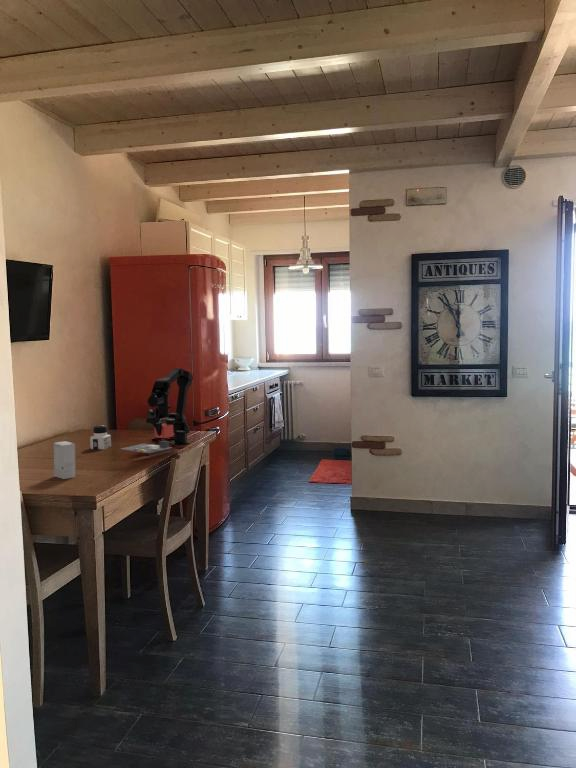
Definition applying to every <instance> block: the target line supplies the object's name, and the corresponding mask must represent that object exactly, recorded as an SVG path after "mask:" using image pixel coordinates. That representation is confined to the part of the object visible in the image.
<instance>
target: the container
mask: <svg viewBox="0 0 576 768" xmlns="http://www.w3.org/2000/svg"><path fill="white" fill-rule="evenodd" d="M107 431H108V429H107V426H106V425H103V424H100V425H99V424H98V425H95V426H93V435H92V436H90V437H89V442H90V443H89V444H90V449H91V450H106V449H108V448H110V447H112V438H111V436H112V435H111V434H108V432H107Z"/></svg>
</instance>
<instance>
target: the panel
mask: <svg viewBox="0 0 576 768" xmlns="http://www.w3.org/2000/svg"><path fill="white" fill-rule="evenodd" d="M120 450H123V451H125V450H126V451H131V452H138V453H143V454H145V455H144V456H145V457H151V456H155V455H161V454H164V453H169V452H173V451H174V448H173V447H172V446H169V447H167V448H162V447H160V444H149V443H139V444H135V445H130V446H127V447H126V446H125V447H121V448H120Z"/></svg>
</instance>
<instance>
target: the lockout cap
mask: <svg viewBox="0 0 576 768" xmlns="http://www.w3.org/2000/svg"><path fill="white" fill-rule="evenodd" d="M153 429H154V438H161V439H167V438H172V437H174V436H175V434H174V433H173V425H171V424H167V423H162V428H161V435H160V436H158V433H157V431H156V429H155V427H153Z"/></svg>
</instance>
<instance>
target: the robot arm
mask: <svg viewBox="0 0 576 768" xmlns="http://www.w3.org/2000/svg"><path fill="white" fill-rule="evenodd" d="M193 379H194V375H193V374H192V373H191V372H189V371H188V370H185V369H183V368H181V367H174V368H173V369H172V370H171V371H170V372H168V374H167V375H166V376H165V377H164V376H163V377H162V378H159V379H157V380H155V381H154V383H153V386H152V389H151V393H150V396H149V397H148V398H147V404H148V406H149V407H150V408H155V409H147V411H146V415H147V417H146V418H145V420H146V421H145V422H146V423H147V424H151V425H153V426H154V427H155V429H156V431H157V433H158V436H160V435H161V428H162V424H163V422H161V421H165V424H171V425H173V434H174V436H173V437H174V439H173V440H174V441H173V443H172V445H179V446H184V445H187V444H190V441H188V434H189V433H190V431H191V430H190V429H191V428H190V426H189V425H188V419H187V418H186V415H185V414H186V407H187V399H188V391H189V388H190V387H191V386H192V384H193ZM175 381H176V384H177V386H178V393H177V399H176V400H177V401H176V407H175V412H170V409H171V405H170V404H169V396H170V395H171V394H170V392H169V391H170V389H171V388H172V384H173V383H174V382H175ZM154 427H153V428H154Z"/></svg>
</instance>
